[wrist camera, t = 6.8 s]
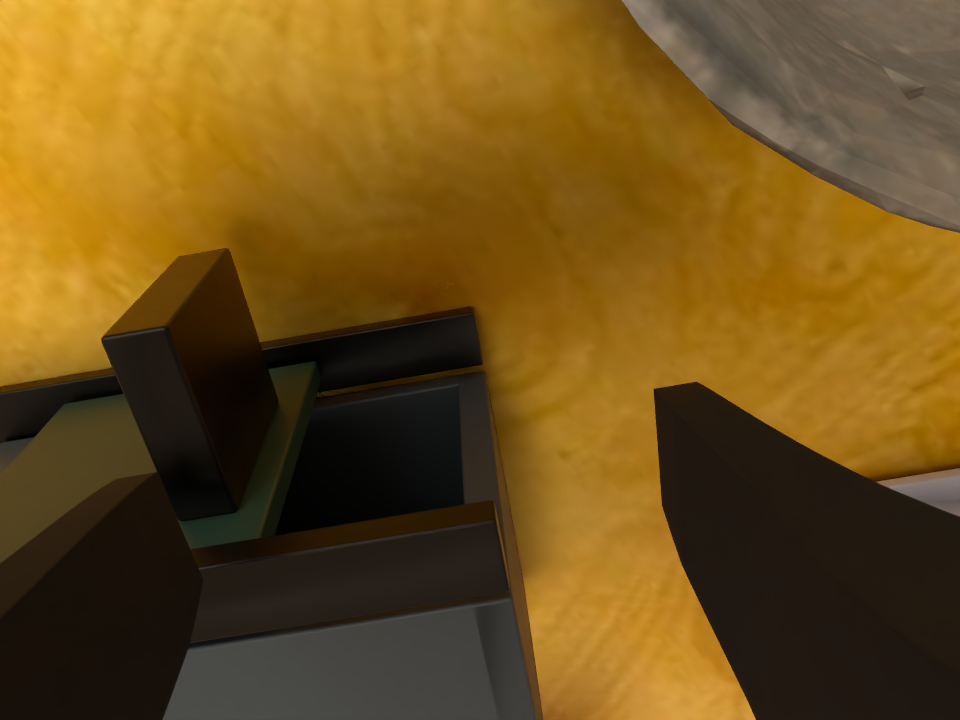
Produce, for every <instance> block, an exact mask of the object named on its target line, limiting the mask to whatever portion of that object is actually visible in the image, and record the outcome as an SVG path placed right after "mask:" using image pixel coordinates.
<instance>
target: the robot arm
mask: <svg viewBox="0 0 960 720" xmlns="http://www.w3.org/2000/svg"><path fill="white" fill-rule="evenodd" d="M654 400H655V414H656V427H657V441H658V455H659V469H660V483H661V497H662V507H663V510H664V513H665V516H666V519H667V522H668V525H669V528H670V531H671V534H672V537H673V540H674V543H675V546H676V549H677V552H678V555H679V558H680V561H681V563H682V566H683V568H684V570H685V572H686V575H687V577H688V579H689V581H690V583H691V585H692V587H693V589H694V591H695V593H696V596H697V598H698V600H699V602H700V604H701V606H702V608H703V610H704V612H705V614H706V616H707V618H708V620H709V622H710V624H711V626H712V629H713V631H714V633H715V635H716V637H717V639H718V641H719V643H720V645H721V647H722V649H723V651H724V653H725V655H726V657H727V659H728V661H729V663H730V665H731V667H732V670H733V672H734V674H735V676H736V678H737V680H738V682H739V684H740V686H741V688H742V690H743V692H744V694H745V696H746V698H747V700H748V702H749V705H750V707H751V709H752V712H753V714H754V716H755V718H756V720H960V468H957V469H951V470H945V471H939V472H933V473H926V474H920V475H914V476H908V477H902V478H896V479H890V480H883V481H877V482H875V481H872V480H870V479H868V478H866V477H864V476H862V475H860V474H858V473H856V472H854V471H852V470H850V469H848V468H846V467H844V466H842V465H840V464H838V463H836V462H834V461H832V460H830V459H828V458H826V457H824V456H822V455H820V454H818V453H817V452H815V451H813V450H811V449H809V448H807V447H805V446H804V445H802V444H800V443H798V442H797V441H795V440H793V439H791V438H789V437H788V436H786V435H784V434H783V433H781V432H779V431H777V430H776V429H774V428H772V427H771V426H769V425H767V424H766V423H764V422H762V421H761V420H759V419H757V418H756V417H754V416H752V415H751V414H749V413H747V412H746V411H744V410H743V409H741V408H739V407H738V406H736V405H735V404H733V403H731V402H730V401H728V400H727V399H725V398H723V397H722V396H720V395H718V394H717V393H715V392H714V391H712V390H710V389H709V388H707V387H705V386H703V385H702V384H700V383H698V382H693V383H687V384H681V385H675V386H669V387H663V388H657V389H654ZM202 584H203V578H202V576H201V573H200V571H199V569H198V566H197V564H196V561H195V559H194V557H193V554H192V552H191V550H190V547H189V545H188V543H187V540H186V538H185V536H184V533H183V531H182V529H181V526H180V524H179V522H178V519H177V517H176V515H175V512H174V510H173V508H172V505H171V503H170V500H169V498H168V496H167V493H166V491H165V489H164V486H163V484H162V482H161V479H160V477H159V475H158V472H153V473H147V474H141V475H135V476H129V477H123V478H117V479H115V480H113V481H112V482H110V483H108V484H107V485H105V486H103V487H102V488H100V489H99V490H97V491H96V492H94V493H93V494H92V495H90V496H89V497H87V498H86V499H84V500H83V501H82V502H80V503H79V504H78V505H76V506H75V507H73V508H72V509H71V510H69V511H68V512H67V513H65V514H64V515H63V516H61V517H60V518H59V519H57V520H56V521H55V522H54V523H52V524H51V525H50V526H48V527H47V528H46V529H44V530H43V531H42V532H40V533H39V534H38V535H36V536H35V537H34V538H33V539H31V540H30V541H29V542H27V543H26V544H25V545H23V546H22V547H21V548H19V549H18V550H17V551H16V552H14V553H13V554H12V555H10V556H9V557H8V558H6V559H5V560H4V561H2V562H1V563H0V720H163V717H164V715H165V712H166V709H167V706H168V704H169V701H170V698H171V696H172V693H173V690H174V687H175V685H176V682H177V679H178V676H179V674H180V671H181V668H182V665H183V662H184V660H185V657H186V654H187V651H188V648H189V645H190V641H191V637H192V633H193V628H194V624H195V620H196V615H197V610H198V605H199V600H200V595H201V589H202Z"/></svg>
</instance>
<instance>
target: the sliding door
mask: <svg viewBox="0 0 960 720" xmlns="http://www.w3.org/2000/svg"><path fill="white" fill-rule="evenodd" d="M101 340H102V344H103V346H104V349H105V351H106V353H107V356H108V358H109V360H110V363H111V365H112V367H113V370H114V372H115V374H116V377H117V379H118V382H119V384H120V386H121V389H122V391H123V393H124V394H120V395H114V396H108V397H102V398H96V399H90V400H84V401H79V402H73V403H67V404H64V405H63V406H62V407H61V408H60V409H59V410H58V412H57V413H56V414H55V415H54V416H53V417H52V418H51V419H50V421H49V422H48V423H47V424H46V425H45V426H44V427H43V428H42V430H41V431H40V432H39V433H38V434H37V435H36V436H35V437H34V439H33V440H32V441H31V442H30V443H29V444H28V445H27V446H26V448H25V449H24V450H23V451H22V452H21V453H20V454H19V455H18V457H17V458H16V459H15V460H14V461H13V462H12V463H11V464H10V466H9V467H8V468H7V469H6V470H5V471H4V472H3V473H2V475H1V476H0V563H1V562H2V561H4V560H5V559H6V558H8V557H9V556H10V555H12V554H13V553H14V552H16V551H17V550H18V549H19V548H21V547H22V546H23V545H25V544H26V543H27V542H29V541H30V540H31V539H33V538H34V537H35V536H36V535H38V534H39V533H40V532H42V531H43V530H44V529H46V528H47V527H48V526H50V525H51V524H52V523H54V522H55V521H56V520H57V519H59V518H60V517H61V516H63V515H64V514H65V513H67V512H68V511H69V510H71V509H72V508H73V507H75V506H76V505H78V504H79V503H80V502H82V501H83V500H84V499H86V498H87V497H89V496H90V495H92V494H93V493H94V492H96V491H97V490H99V489H100V488H102V487H103V486H105V485H107V484H108V483H110V482H112V481H113V480H115V479H117V478H123V477H129V476H135V475H141V474H147V473H153V472H158V475H159V477H160V479H161V482H162V484H163V486H164V489H165V491H166V493H167V496H168V498H169V500H170V503H171V505H172V508H173V510H174V512H175V515H176V517H177V519H178V522H179V524H180V526H181V529H182V531H183V533H184V536H185V538H186V540H187V543H188V545H189V547H190V549H196V548H202V547H208V546H214V545H220V544H226V543H232V542H238V541H244V540H251V539H257V538H263V537H269V536H275V533H276V530H277V526H278V523H279V520H280V516H281V513H282V509H283V506H284V503H285V499H286V496H287V493H288V489H289V486H290V483H291V479H292V476H293V472H294V469H295V466H296V462H297V459H298V456H299V452H300V449H301V445H302V442H303V439H304V435H305V432H306V429H307V425H308V422H309V418H310V415H311V412H312V408H313V405H314V402H315V398H316V395H317V392H318V388H319V385H320V381H321V376H320V372H319V369H318V365H317V363H316V362H315V361H313V362H307V363H301V364H295V365H290V366H284V367H278V368H272V369H268V366H267V363H266V360H265V357H264V354H263V351H262V348H261V345H260V342H259V339H258V336H257V332H256V329H255V326H254V323H253V320H252V317H251V314H250V311H249V308H248V305H247V302H246V299H245V296H244V292H243V289H242V286H241V283H240V280H239V277H238V274H237V271H236V268H235V265H234V262H233V259H232V256H231V252H230V250H229V249H226V248H224V249H218V250H213V251H207V252H201V253H196V254H190V255H184V256H179V257H178V258H177V259H176V260H175V261H174V262H173V263H172V264H171V265H170V266H169V267H168V268H167V269H166V270H165V271H164V272H163V273H162V274H161V275H160V277H159V278H158V279H157V280H156V281H155V282H154V283H153V284H152V285H151V286H150V287H149V288H148V289H147V290H146V291H145V292H144V293H143V294H142V295H141V297H140V298H139V299H138V300H137V301H136V302H135V303H134V304H133V305H132V306H131V307H130V308H129V309H128V310H127V311H126V312H125V313H124V314H123V315H122V316H121V318H120V319H119V320H118V321H117V322H116V323H115V324H114V325H113V326H112V327H111V328H110V329H109V330H108V331H107V332H106V333H105V334H104V335H103V336H102V338H101Z"/></svg>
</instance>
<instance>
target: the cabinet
mask: <svg viewBox="0 0 960 720" xmlns="http://www.w3.org/2000/svg"><path fill="white" fill-rule="evenodd" d="M260 345H261V348H262V351H263V354H264V357H265V360H266V363H267V366H268V369H272V368H278V367H284V366H290V365H295V364H301V363H307V362H313V361H315V362H316V363H317V365H318V369H319V372H320V376H321V381H320V385H319V388H318V392H323V391H329V390H335V389H341V388H347V387H353V386H359V385H365V384H371V383H377V382H382V381H388V380H394V379H400V378H406V377H412V376H418V375H424V374H430V373H436V372H441V371H447V370H453V369H459V368H465V367H471V366H477V365H482V364H483V356H482V351H481V345H480V340H479V334H478V329H477V323H476V318H475V312H474V308H473V307H466V308H460V309H454V310H448V311H442V312H437V313H431V314H425V315H419V316H413V317H407V318H402V319H396V320H390V321H384V322H378V323H373V324H367V325H361V326H355V327H349V328H343V329H338V330H332V331H326V332H320V333H314V334H308V335H303V336H297V337H291V338H285V339H279V340H273V341H268V342H262V343H260ZM318 392H317V393H318ZM120 394H124V393H123V391H122V389H121V386H120V384H119V382H118V379H117V377H116V374H115V372H114V370H113V368H110V369H105V370H99V371H93V372H87V373H81V374H75V375H70V376H64V377H58V378H52V379H46V380H40V381H35V382H29V383H23V384H17V385H11V386H6V387H0V476H1V475H2V473H3V472H4V471H5V470H6V469H7V468H8V467H9V466H10V464H11V463H12V462H13V461H14V460H15V459H16V458H17V457H18V455H19V454H20V453H21V452H22V451H23V450H24V449H25V448H26V446H27V445H28V444H29V443H30V442H31V441H32V440H33V439H34V437H35V436H36V435H37V434H38V433H39V432H40V431H41V430H42V428H43V427H44V426H45V425H46V424H47V423H48V422H49V421H50V419H51V418H52V417H53V416H54V415H55V414H56V413H57V412H58V410H59V409H60V408H61V407H62V406H63V405H64V404H67V403H73V402H79V401H84V400H90V399H96V398H102V397H108V396H114V395H120ZM190 550H191V552H192V554H193V557H194V559H195V561H196V564H197V566H198V569H199V571H200V573H201V576H202V578H203V584H202V589H201V595H200V600H199V605H198V610H197V615H196V620H195V624H194V628H193V633H192V637H191V641H190V645H189V648H188V651H187V654H186V657H185V660H184V662H183V665H182V668H181V671H180V674H179V676H178V679H177V682H176V685H175V687H174V690H173V693H172V696H171V698H170V701H169V704H168V706H167V709H166V712H165V715H164V717H163V720H543V715H542V708H541V701H540V694H539V686H538V679H537V672H536V665H535V658H534V651H533V644H532V637H531V630H530V623H529V616H528V609H527V602H526V595H525V588H524V581H523V576H522V570H521V565H520V559H519V554H518V548H517V543H516V537H515V532H514V526H513V521H512V515H511V510H510V504H509V499H508V494H507V488H506V483H505V477H504V472H503V466H502V461H501V455H500V450H499V444H498V439H497V433H496V428H495V422H494V417H493V411H492V406H491V400H490V395H489V389H488V384H487V378H486V373H485V372H484V371H481V372H475V373H469V374H463V375H457V376H452V377H446V378H440V379H434V380H428V381H422V382H416V383H410V384H404V385H398V386H392V387H386V388H381V389H375V390H369V391H363V392H357V393H351V394H345V395H339V396H333V397H327V398H321V399H316V400H315V402H314V405H313V408H312V412H311V415H310V418H309V422H308V425H307V429H306V432H305V435H304V439H303V442H302V445H301V449H300V452H299V456H298V459H297V462H296V466H295V469H294V472H293V476H292V479H291V483H290V486H289V489H288V493H287V496H286V499H285V503H284V506H283V509H282V513H281V516H280V520H279V523H278V526H277V530H276V533H275V536H269V537H263V538H257V539H251V540H244V541H238V542H232V543H226V544H220V545H214V546H208V547H202V548H196V549H190Z"/></svg>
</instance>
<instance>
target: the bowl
mask: <svg viewBox="0 0 960 720" xmlns="http://www.w3.org/2000/svg"><path fill="white" fill-rule="evenodd" d="M622 2H623V3H624V5H625V6H626V8H627V9H628V11H629V12H630V13H631V15H632V16H633V18H634V19H635V21H636V22H637V24H638V25H639V26H640V28H641V29H642V30H643V31H644V32H645V33H646V34H647V35H648V36H649V37H650V38H651V39H652V40H653V41H654V42H655V43H656V44H657V46H658V47H659V48H660V49H661V50H662V51H663V52H664V53H665V54H666V55H667V56H668V57H669V58H670V59H671V60H672V61H673V62H674V64H675V65H676V66H677V67H678V68H679V69H680V70H681V71H682V72H683V73H684V74H685V75H686V76H687V77H688V78H689V79H690V80H691V81H692V83H693V84H694V85H695V86H696V87H697V88H698V89H699V90H700V91H701V92H702V93H703V94H704V95H705V96H706V97H707V98H708V99H709V101H710V102H711V103H712V104H713V105H714V106H715V107H716V108H717V109H718V110H719V111H720V112H721V113H722V114H723V115H724V116H725V117H726V118H727V119H728V121H729V122H730V123H731V124H732V125H734V126H735V127H737V128H739V129H740V130H742V131H743V132H745V133H747V134H748V135H750V136H751V137H753V138H755V139H756V140H758V141H760V142H761V143H763V144H764V145H766V146H768V147H769V148H771V149H772V150H774V151H776V152H777V153H779V154H781V155H782V156H784V157H785V158H787V159H789V160H790V161H792V162H793V163H795V164H797V165H798V166H800V167H801V168H803V169H805V170H806V171H808V172H810V173H811V174H813V175H814V176H816V177H818V178H820V179H822V180H824V181H827V182H829V183H831V184H833V185H835V186H837V187H839V188H841V189H843V190H845V191H847V192H849V193H851V194H853V195H855V196H857V197H859V198H861V199H863V200H865V201H867V202H869V203H871V204H873V205H875V206H877V207H879V208H881V209H883V210H885V211H887V212H890V213H893V214H896V215H899V216H902V217H905V218H908V219H911V220H914V221H917V222H920V223H923V224H926V225H929V226H933V227H937V228H942V229H946V230H950V231H954V232H959V233H960V0H622Z"/></svg>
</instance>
